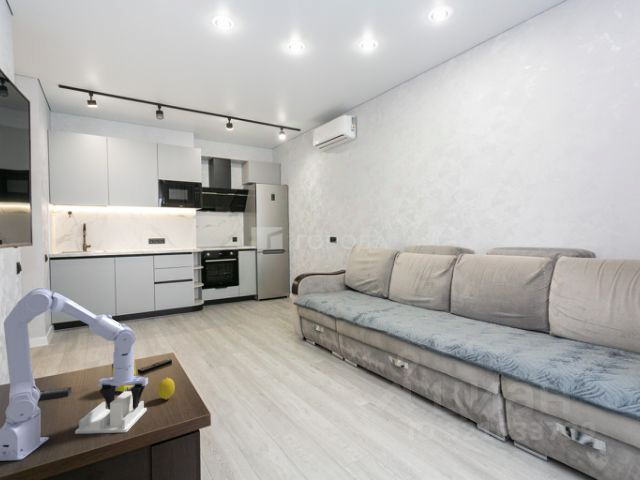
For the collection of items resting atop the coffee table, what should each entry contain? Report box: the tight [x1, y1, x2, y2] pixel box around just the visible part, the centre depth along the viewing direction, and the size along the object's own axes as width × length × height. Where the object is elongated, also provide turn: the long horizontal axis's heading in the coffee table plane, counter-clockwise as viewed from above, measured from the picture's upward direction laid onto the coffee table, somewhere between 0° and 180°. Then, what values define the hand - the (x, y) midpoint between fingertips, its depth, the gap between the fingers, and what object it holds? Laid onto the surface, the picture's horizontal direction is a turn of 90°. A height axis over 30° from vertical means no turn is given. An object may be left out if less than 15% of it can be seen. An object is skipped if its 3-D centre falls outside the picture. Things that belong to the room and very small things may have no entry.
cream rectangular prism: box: [110, 390, 133, 426], centre depth 105 cm, size 4×8×7 cm, turn 3°
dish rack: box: [74, 400, 148, 435], centre depth 105 cm, size 13×15×4 cm
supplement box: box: [111, 359, 137, 394], centre depth 128 cm, size 6×6×11 cm
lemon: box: [157, 377, 176, 401], centre depth 120 cm, size 6×6×8 cm
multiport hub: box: [38, 386, 73, 402], centre depth 122 cm, size 4×11×2 cm, turn 111°
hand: (123, 407), depth 105 cm, fingers open, 7 cm apart
